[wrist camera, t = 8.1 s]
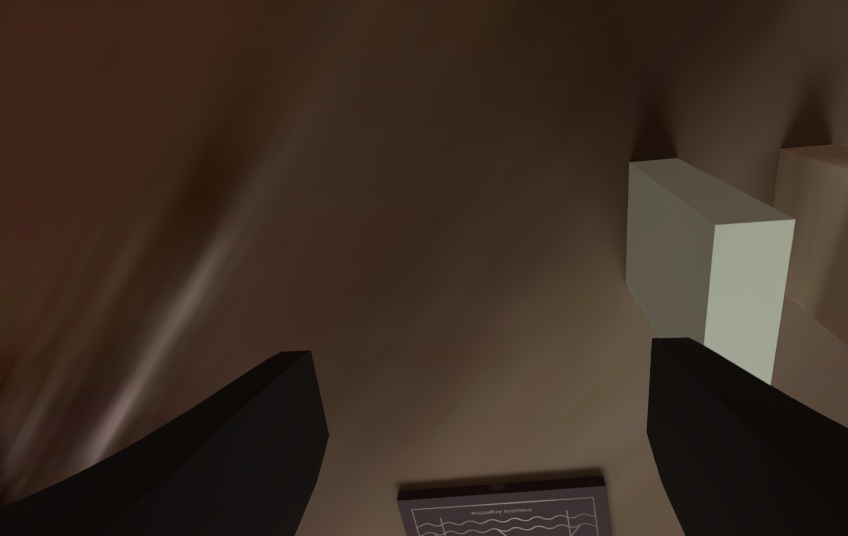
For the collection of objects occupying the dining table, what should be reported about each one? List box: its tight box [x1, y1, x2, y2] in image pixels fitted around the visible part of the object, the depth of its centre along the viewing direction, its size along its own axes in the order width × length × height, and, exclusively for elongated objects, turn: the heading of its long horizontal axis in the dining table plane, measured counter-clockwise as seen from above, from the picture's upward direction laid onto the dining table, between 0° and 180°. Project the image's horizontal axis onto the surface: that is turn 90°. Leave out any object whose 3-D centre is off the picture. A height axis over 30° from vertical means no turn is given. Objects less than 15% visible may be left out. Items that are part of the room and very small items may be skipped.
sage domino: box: [626, 158, 796, 385], centre depth 14 cm, size 2×4×7 cm, turn 7°
